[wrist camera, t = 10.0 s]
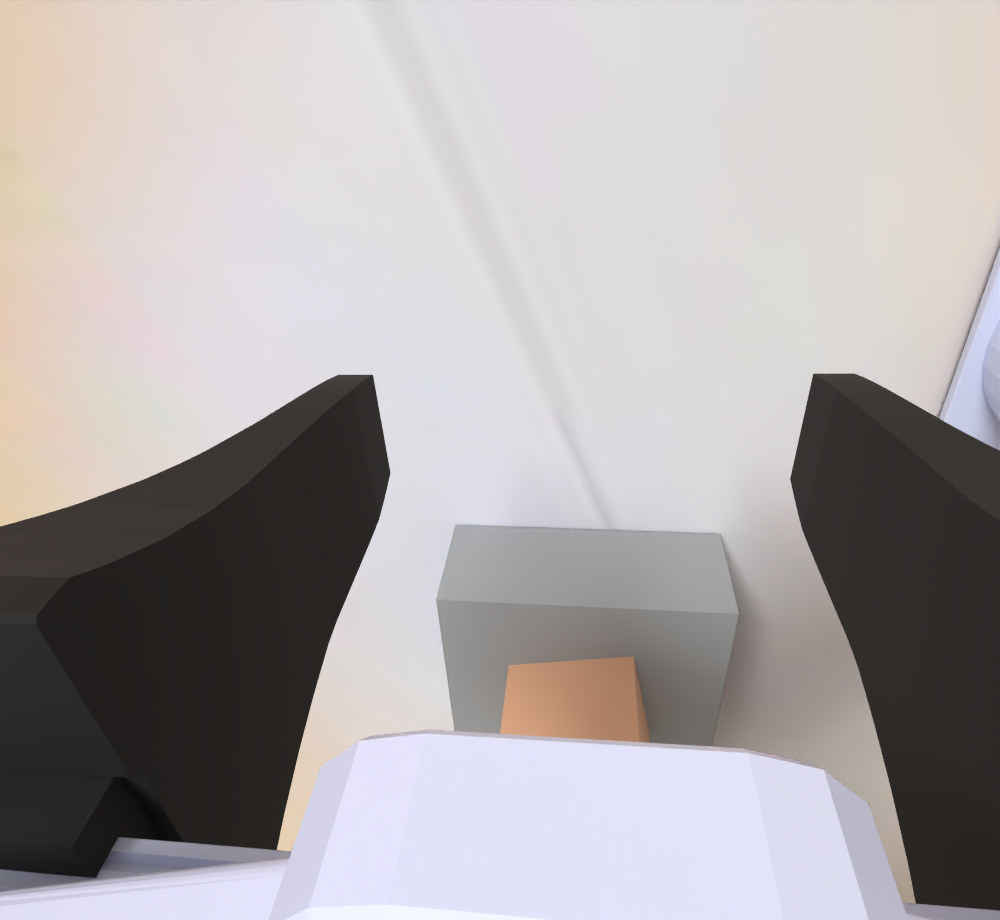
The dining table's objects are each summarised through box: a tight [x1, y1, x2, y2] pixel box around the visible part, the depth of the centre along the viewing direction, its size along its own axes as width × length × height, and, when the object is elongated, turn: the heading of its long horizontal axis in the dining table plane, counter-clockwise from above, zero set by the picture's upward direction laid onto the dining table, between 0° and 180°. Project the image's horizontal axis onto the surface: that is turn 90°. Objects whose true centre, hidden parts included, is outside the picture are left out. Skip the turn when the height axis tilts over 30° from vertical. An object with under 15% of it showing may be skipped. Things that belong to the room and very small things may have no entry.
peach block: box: [500, 656, 650, 743], centre depth 24 cm, size 4×4×4 cm
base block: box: [436, 525, 739, 747], centre depth 27 cm, size 10×10×4 cm
